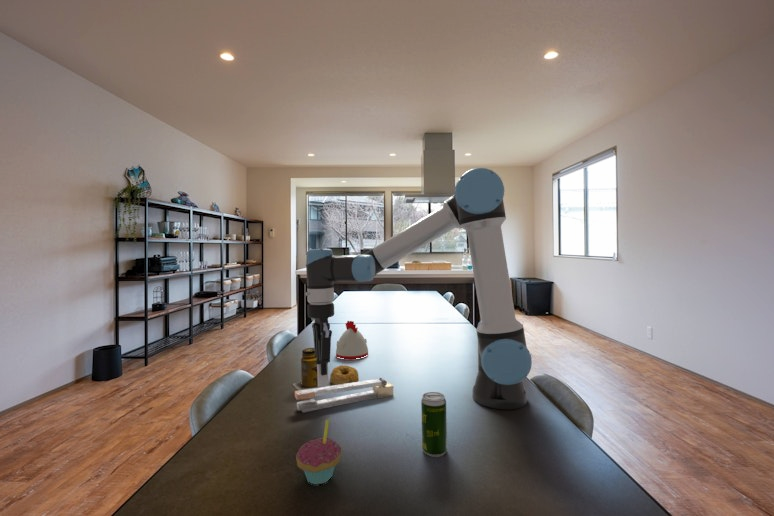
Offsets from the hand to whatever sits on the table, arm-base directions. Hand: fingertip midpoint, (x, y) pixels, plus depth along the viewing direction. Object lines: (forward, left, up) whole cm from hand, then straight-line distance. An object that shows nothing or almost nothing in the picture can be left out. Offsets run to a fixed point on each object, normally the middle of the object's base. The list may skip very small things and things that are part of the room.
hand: (323, 385), depth 101 cm
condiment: (+19, 0, -7) cm, 20 cm away
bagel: (+17, -12, -7) cm, 22 cm away
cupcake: (-32, +9, -6) cm, 34 cm away
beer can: (-34, -16, -6) cm, 38 cm away
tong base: (0, -7, -6) cm, 9 cm away
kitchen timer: (+46, -25, -7) cm, 53 cm away
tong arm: (0, -6, -3) cm, 6 cm away
